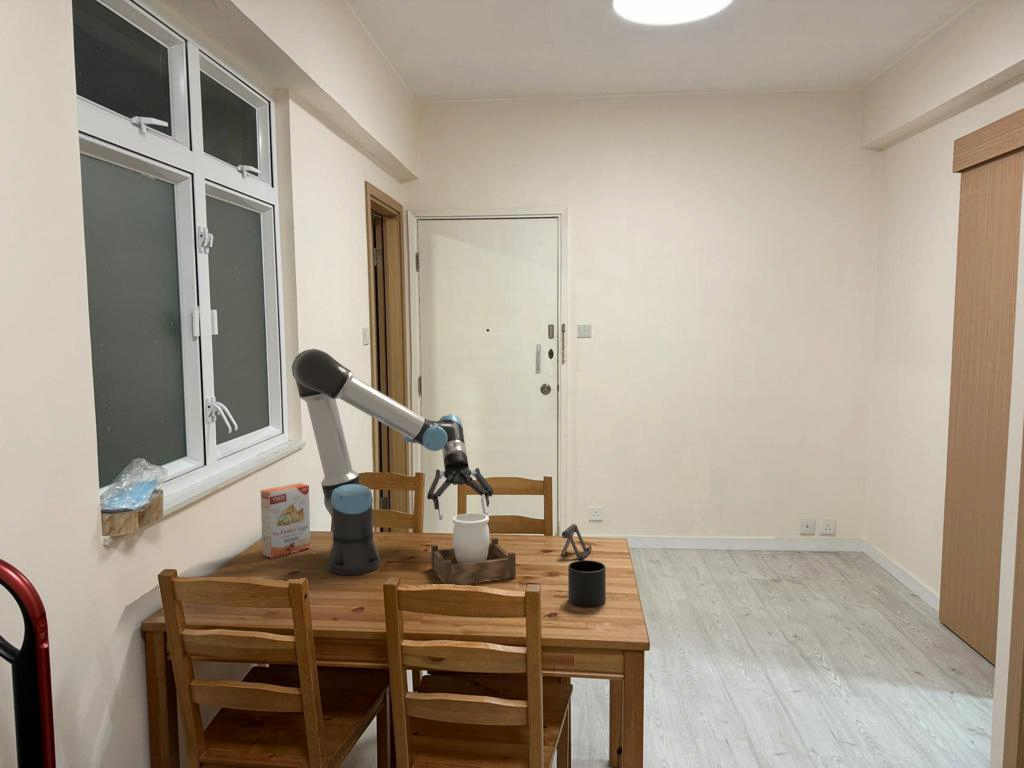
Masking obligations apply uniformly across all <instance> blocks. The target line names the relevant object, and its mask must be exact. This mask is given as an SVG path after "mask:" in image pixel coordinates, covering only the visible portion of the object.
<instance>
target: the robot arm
mask: <svg viewBox="0 0 1024 768" xmlns="http://www.w3.org/2000/svg"><path fill="white" fill-rule="evenodd" d="M291 373H292V376H293V378H294V379H295V382H296V387H297V391H298V395H299V398H300V399H301V400H302V401H304V402H305V403H306V405H307V409H308V413H309V418H310V422H311V426H312V430H313V433H314V438H315V443H316V446H317V451H318V454H319V459H320V463H321V466H322V471H323V475H324V478H323V479H322V481H321V482H320V483H321V484H320V485H321V489H322V492H323V497H324V499H323V502H324V505H325V509H326V511H327V512H328V513H329V516H331V523H332V545H331V548H330V552H329V556H328V559H327V570H328V572H330V573H332V574H336V575H342V576H350V575H351V576H353V575H362V574H367V573H369V572H373V571H374V570H375V571H376V570H377V569H379V567H380V566H381V557H380V553H379V551H378V548H377V545H376V543H375V540H374V513H373V511H374V510H373V502H374V497H373V493H372V490H371V489H370V488H369V487H368V486H366V485H362V482H361V479H360V475H359V473H358V472H356V471H355V470H354V469H353V467H352V466H353V465H352V461H351V457H350V455H349V454H350V453H349V450H348V446H347V441H346V437H345V433H344V429H343V425H342V421H341V417H340V412H339V407H338V404H337V399H338V400H339V399H340V400H341V401H343V402H345V403H346V404H349V406H352V407H354V408H355V409H357V410H359V411H361V413H364V414H366V415H368V416H369V417H371V418H373V419H375V420H377V422H378V421H379V422H380V423H382V424H384V425H386V426H387V427H389V428H391V429H393V430H395V431H396V432H398V433H400V434H401V435H402V438H403V440H404V442H406V443H412V444H419V445H420V446H421V447H424V448H425V449H427V450H429V451H433V452H437V451H440V450H442V458H443V466H444V467H443V468H444V471H441V470H440V469H436V470H435V475H434V478H433V481H432V483H431V485H430V488H429V490H428V492H427V496H426V498H427V500H432V502H433V506H434V510H437V512H438V520H439V521H443V518H444V517H443V516H444V514H443V513H444V512H443V505H442V498H441V496H442V495H443V494H444V492H445V491H446V490H447V489H448V488H449V487H450V486H451V485H453V486H456V485H464V484H465V485H466V486H468V487H470V488H471V489H472V490H473V491H475V492H476V493H477V494H479V496H480V497H481V498H480V501H481V507H482V514H484V515H487V516H488V514H489V511H488V507H489V505H490V498H489V497H491V498H492V497H493V494H494V489H493V488H492V487H491V485H490V484H489V483H488V481H487V480H486V479H485V478H484V476H483V475H482V473H481V470H480V468H479V467H476V468H475V469H473V470H471V469H470V466H469V460H468V453H467V448H466V443H465V437H464V436H465V435H464V428H463V424H462V423H463V422H462V421H461V418H460V417H459V416H458V415H456V414H448V415H447V414H446V415H443V416H441V417H440V418H439V420H436V421H435V420H429V419H427V418H425V417H423V416H422V415H420V414H418V413H417V412H415V411H413V410H411V409H410V408H408V407H407V406H404V405H403V404H402V403H400V402H398V401H396V400H395V399H393V398H391V397H390V396H388V395H386V394H384V393H383V392H381V391H379V390H378V389H376V388H374V387H372V386H371V385H369V384H368V383H365V382H364V381H362V380H360V379H359V378H358V377H356V376H354V374H353V372H352V370H351V369H349V368H347V367H345V366H344V365H343V364H341V363H340V362H339V361H337V360H336V359H335V358H334V357H333V356H331V355H330V354H329V353H327V352H326V351H323V350H321V349H316V348H312V349H309V348H308V349H306V350H304V351H301V352H300V353H298V354H297V355H296V357H294V360H293V362H292V365H291ZM472 476H473V477H474V478H475V480H476V481H475V480H474V478H473V477H472ZM443 477H444V478H445V481H444V482H443V483H442V484H441V485H440V486H439V488H438V489H437V488H436V487H438V484H439V481H440V480H441V479H443ZM436 489H437V490H436ZM435 490H436V491H435Z"/></svg>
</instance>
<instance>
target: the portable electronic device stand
mask: <svg viewBox="0 0 1024 768" xmlns="http://www.w3.org/2000/svg"><path fill="white" fill-rule="evenodd" d="M574 534H576V535H577V538H578V540H579V543H580V545H581V548H582V550H583V551H582V552H581V553H580V552H579V550H578V547H577V545H576V543H575V541H574V538H573V537H574ZM561 536H562V537H561V538H563V539H567V540H566V542H565V544H564V547H563V549H562V552H561V553H560V556H563V555H564V553H565V552H564V551H566V550H567V551H568V548H569V546H570V544H571V546H572V548H573V552H574V554H575V556H576V558H577V560H579V559H581V560H580V561H583V560H584V558H585V557H587V556H588V555H589V554H590V553H591V552H592V545H588V547H586V544H585V542H584V539H583V538H582V535H581V533H580V531H579V528H578V525H577V524H575V523H573V524H571V525H570V526H568V527H567V528H566V529H565V530H564V531H562V532H561ZM567 551H566V552H567ZM590 551H591V552H590ZM562 554H563V555H562Z"/></svg>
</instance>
